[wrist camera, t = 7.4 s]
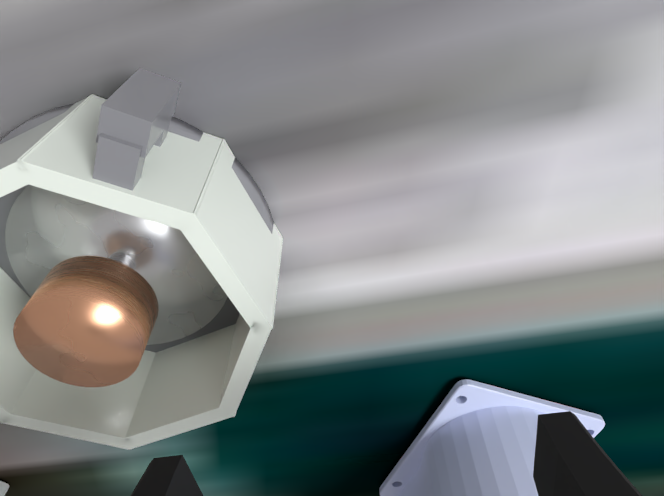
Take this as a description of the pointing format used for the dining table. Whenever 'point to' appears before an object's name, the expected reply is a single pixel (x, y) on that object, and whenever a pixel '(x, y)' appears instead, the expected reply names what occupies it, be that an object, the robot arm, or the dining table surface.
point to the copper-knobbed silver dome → (101, 287)
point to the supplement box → (3, 488)
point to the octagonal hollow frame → (161, 207)
